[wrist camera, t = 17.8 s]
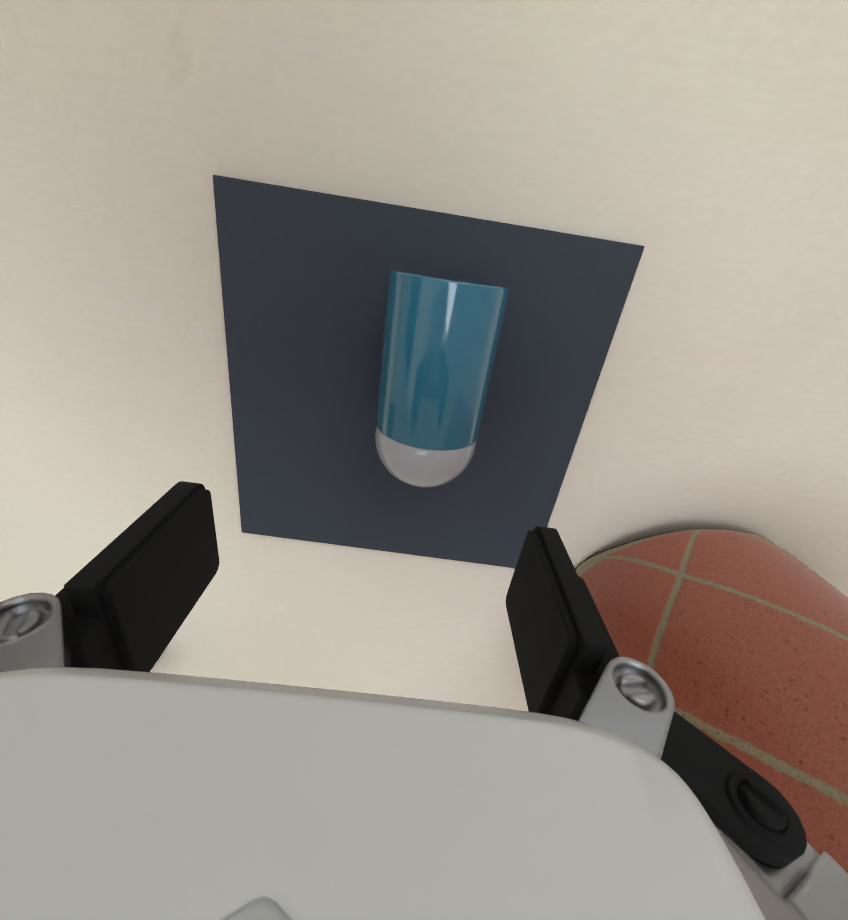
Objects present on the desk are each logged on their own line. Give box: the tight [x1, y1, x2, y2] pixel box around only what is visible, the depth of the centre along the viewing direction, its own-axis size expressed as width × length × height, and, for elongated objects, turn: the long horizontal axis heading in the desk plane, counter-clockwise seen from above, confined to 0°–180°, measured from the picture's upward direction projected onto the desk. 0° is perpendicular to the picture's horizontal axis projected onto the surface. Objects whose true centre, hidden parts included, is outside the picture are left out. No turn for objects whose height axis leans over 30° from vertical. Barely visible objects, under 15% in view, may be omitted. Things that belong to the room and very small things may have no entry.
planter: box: [576, 529, 848, 873], centre depth 21 cm, size 19×19×20 cm
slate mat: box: [213, 175, 644, 568], centre depth 23 cm, size 20×20×1 cm
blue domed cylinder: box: [375, 269, 510, 488], centre depth 19 cm, size 10×5×5 cm, turn 172°
